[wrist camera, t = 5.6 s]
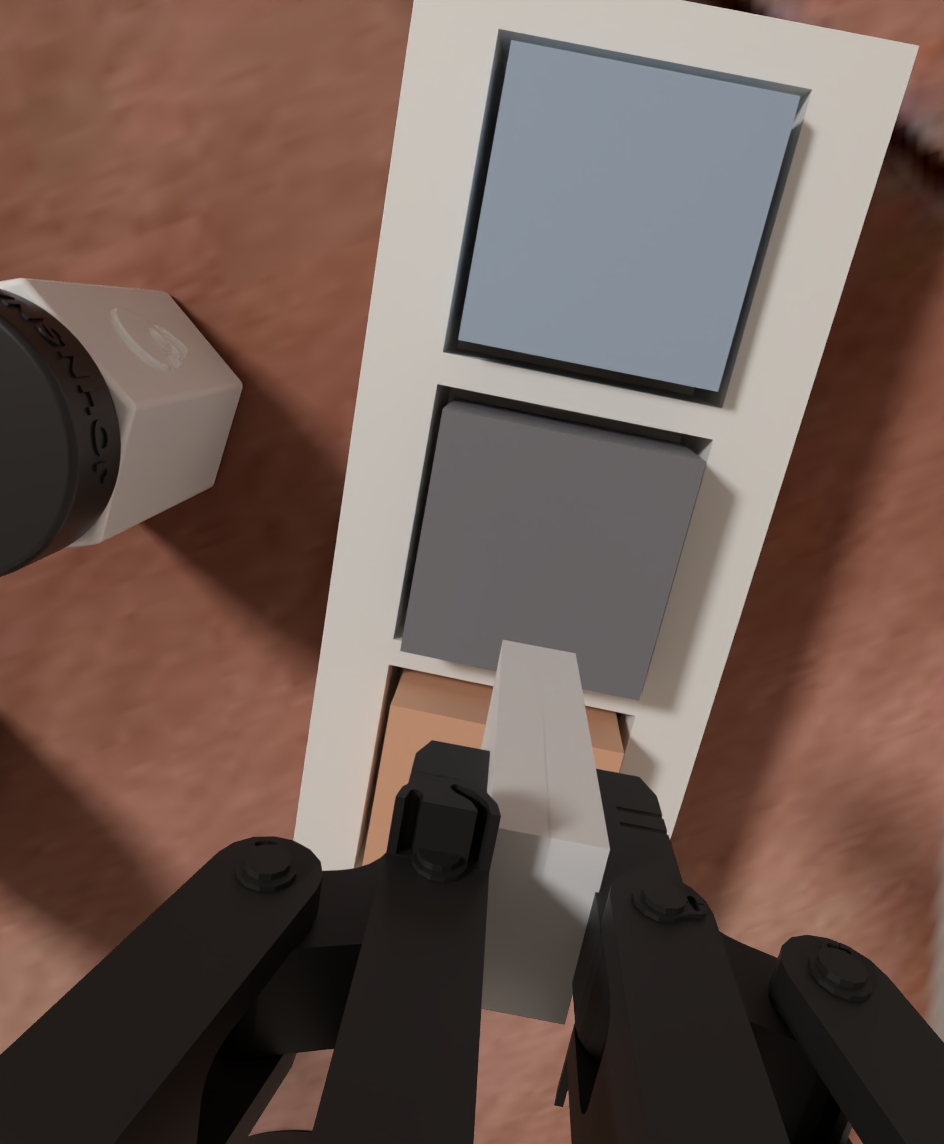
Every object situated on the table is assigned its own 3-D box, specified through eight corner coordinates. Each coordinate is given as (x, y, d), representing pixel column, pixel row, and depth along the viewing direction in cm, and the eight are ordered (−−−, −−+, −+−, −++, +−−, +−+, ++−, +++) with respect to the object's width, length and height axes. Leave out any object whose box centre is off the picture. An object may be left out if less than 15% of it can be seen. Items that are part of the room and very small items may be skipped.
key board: (617, 865, 37) (631, 962, 32) (324, 803, 38) (286, 888, 32) (840, 103, 28) (918, 46, 22) (444, 27, 28) (421, -50, 22)
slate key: (693, 382, 28) (717, 392, 24) (468, 338, 28) (458, 339, 24) (761, 130, 26) (800, 95, 22) (515, 82, 26) (511, 40, 22)
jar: (286, 425, 33) (150, 479, 21) (148, 542, 34) (-45, 649, 23) (132, 239, 31) (-105, 189, 19) (-3, 373, 33) (-292, 399, 21)
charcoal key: (626, 653, 30) (638, 700, 26) (417, 610, 30) (399, 651, 26) (682, 443, 28) (706, 461, 24) (455, 397, 28) (442, 408, 24)
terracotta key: (566, 872, 33) (570, 943, 29) (377, 832, 33) (356, 897, 29) (613, 700, 31) (624, 753, 27) (408, 657, 31) (390, 704, 27)
